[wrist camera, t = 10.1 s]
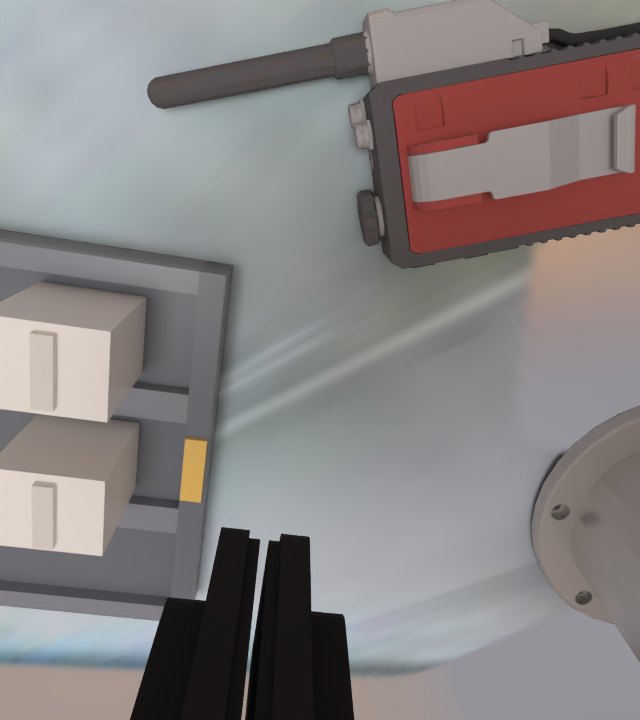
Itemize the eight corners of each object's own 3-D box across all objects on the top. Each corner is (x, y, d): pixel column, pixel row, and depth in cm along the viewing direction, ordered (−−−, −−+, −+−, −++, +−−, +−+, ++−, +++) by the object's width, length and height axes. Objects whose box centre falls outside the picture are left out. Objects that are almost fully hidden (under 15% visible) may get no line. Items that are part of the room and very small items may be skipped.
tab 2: (139, 422, 24) (102, 486, 19) (135, 487, 25) (99, 562, 21) (41, 410, 24) (-20, 472, 19) (42, 476, 25) (-16, 549, 20)
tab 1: (146, 296, 22) (107, 334, 18) (142, 372, 23) (104, 426, 19) (40, 281, 22) (-27, 316, 17) (41, 359, 23) (-23, 410, 18)
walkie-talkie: (691, -40, 20) (149, 66, 21) (790, -88, 16) (112, 47, 17) (680, 208, 24) (207, 294, 24) (760, 220, 19) (187, 325, 20)
